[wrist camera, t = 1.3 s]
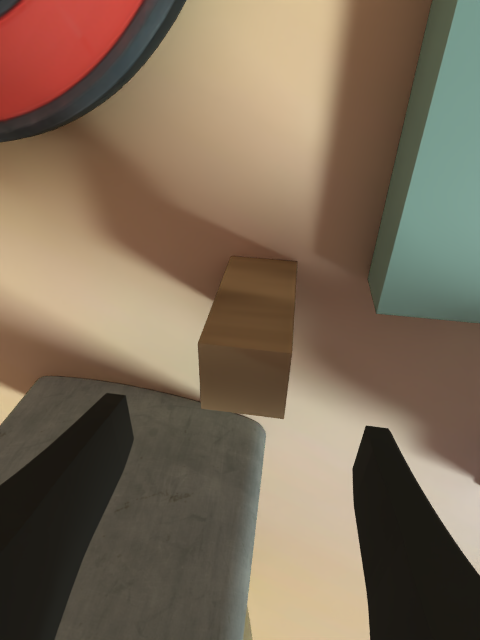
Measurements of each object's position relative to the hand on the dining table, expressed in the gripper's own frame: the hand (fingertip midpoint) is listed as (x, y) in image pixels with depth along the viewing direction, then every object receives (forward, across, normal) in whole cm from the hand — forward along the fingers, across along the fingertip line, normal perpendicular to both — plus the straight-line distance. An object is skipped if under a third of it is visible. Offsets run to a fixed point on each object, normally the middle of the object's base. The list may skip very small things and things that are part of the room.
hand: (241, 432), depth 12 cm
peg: (+10, 0, 0) cm, 10 cm away
